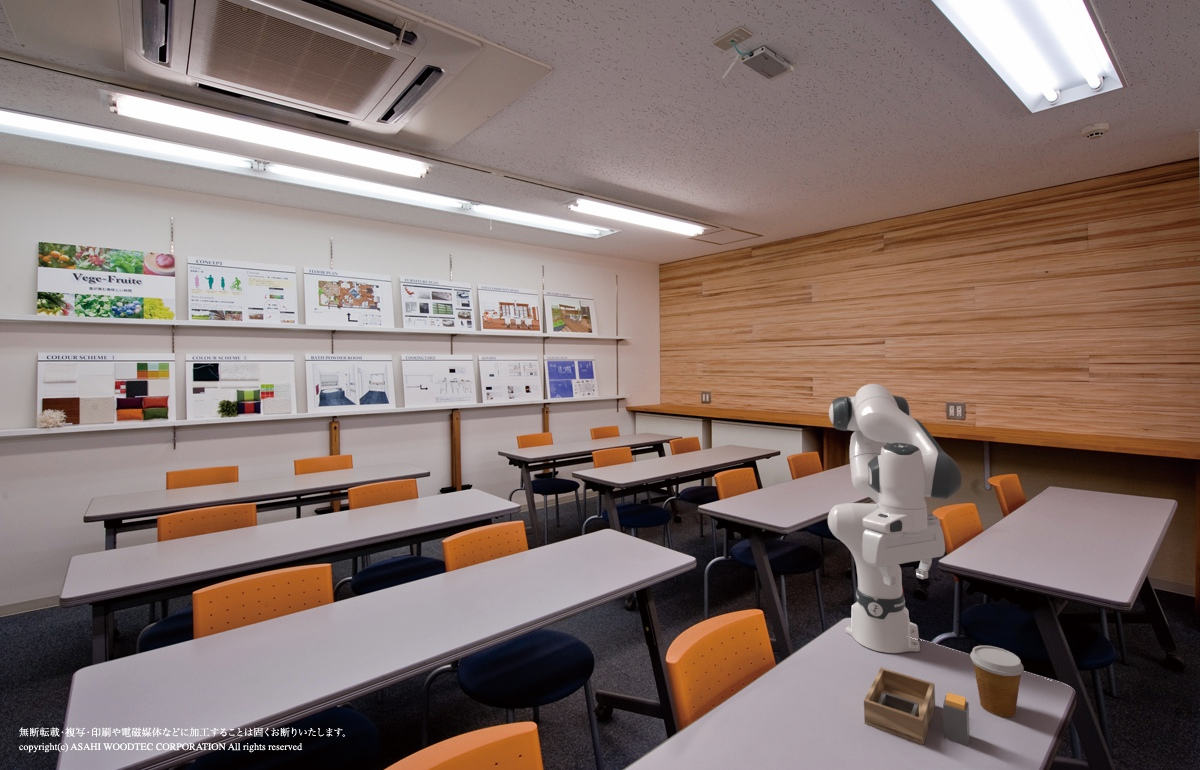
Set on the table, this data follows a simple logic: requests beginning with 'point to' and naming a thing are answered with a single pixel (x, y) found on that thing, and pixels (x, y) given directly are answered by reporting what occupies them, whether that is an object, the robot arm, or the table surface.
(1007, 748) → the table surface
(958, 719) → the block
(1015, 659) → the disposable coffee cup
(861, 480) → the robot arm
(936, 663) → the table surface
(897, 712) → the box
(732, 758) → the table surface
